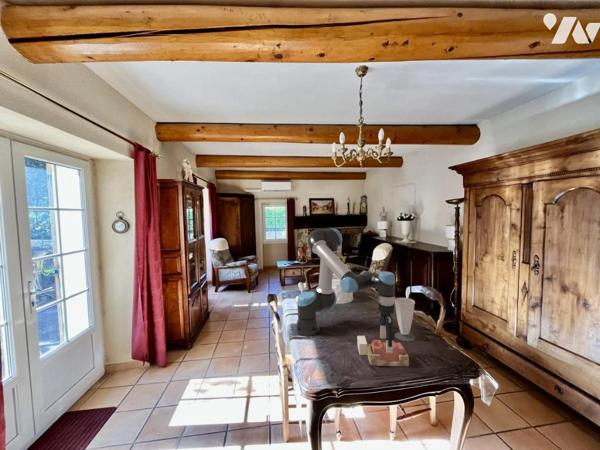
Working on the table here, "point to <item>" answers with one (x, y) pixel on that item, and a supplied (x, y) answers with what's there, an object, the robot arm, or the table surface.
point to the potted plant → (301, 287)
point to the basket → (340, 291)
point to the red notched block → (380, 349)
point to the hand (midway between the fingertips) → (386, 344)
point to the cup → (404, 318)
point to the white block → (362, 345)
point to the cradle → (375, 360)
